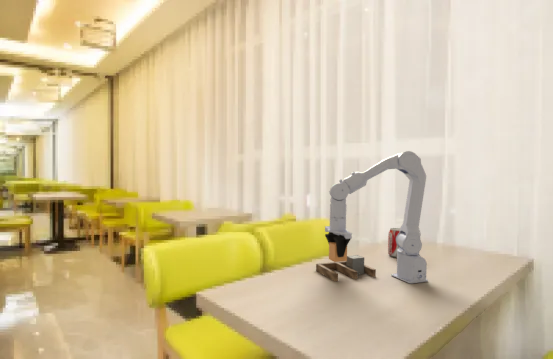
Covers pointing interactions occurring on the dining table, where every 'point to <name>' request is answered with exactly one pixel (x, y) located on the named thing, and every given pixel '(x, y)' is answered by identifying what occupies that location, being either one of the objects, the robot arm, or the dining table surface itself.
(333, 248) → the orange block
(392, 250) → the soda can
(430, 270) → the dining table surface
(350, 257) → the charcoal plug
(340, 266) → the cable comb
